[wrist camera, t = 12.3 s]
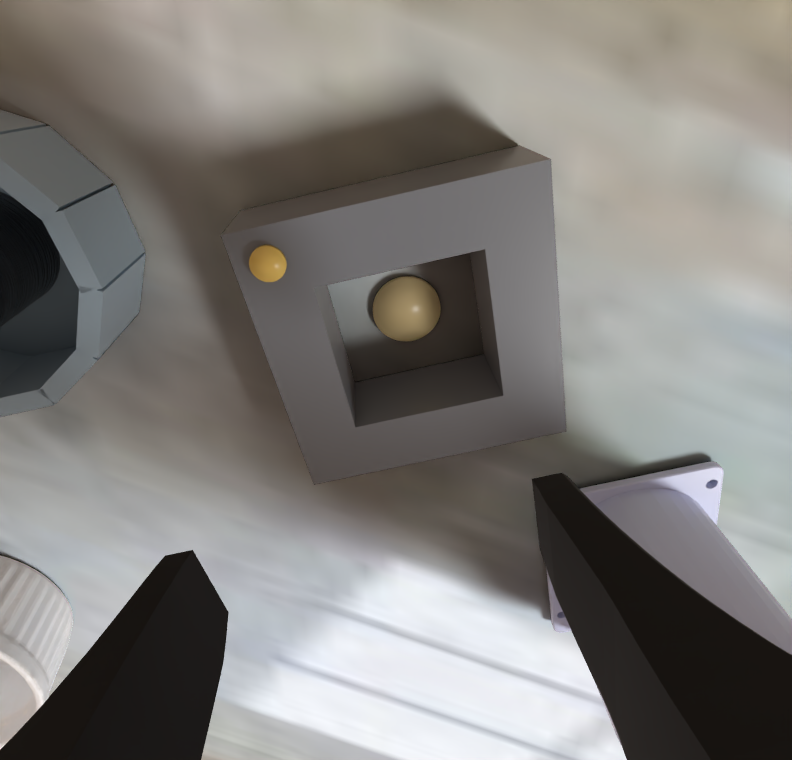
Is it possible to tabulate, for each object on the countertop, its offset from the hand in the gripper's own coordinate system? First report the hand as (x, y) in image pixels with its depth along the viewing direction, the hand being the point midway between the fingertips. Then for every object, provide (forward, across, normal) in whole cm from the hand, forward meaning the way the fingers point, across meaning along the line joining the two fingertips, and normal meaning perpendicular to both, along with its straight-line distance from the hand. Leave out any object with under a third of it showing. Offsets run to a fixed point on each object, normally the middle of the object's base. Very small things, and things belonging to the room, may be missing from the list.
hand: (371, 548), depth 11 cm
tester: (+10, -2, -1) cm, 10 cm away
